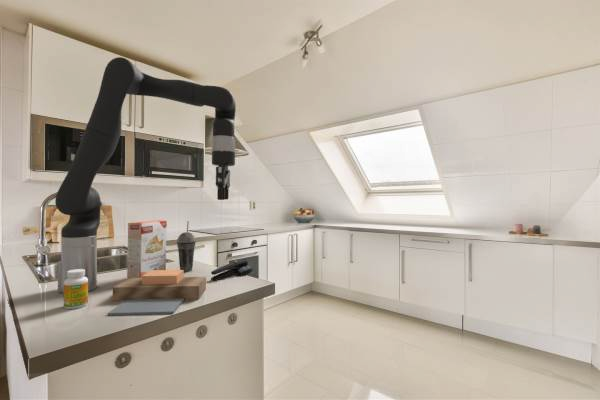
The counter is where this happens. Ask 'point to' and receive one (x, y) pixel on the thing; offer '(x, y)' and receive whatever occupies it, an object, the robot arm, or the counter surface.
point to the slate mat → (147, 306)
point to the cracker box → (146, 247)
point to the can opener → (237, 266)
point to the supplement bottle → (75, 289)
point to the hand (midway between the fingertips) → (223, 199)
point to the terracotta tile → (163, 277)
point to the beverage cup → (186, 250)
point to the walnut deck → (160, 289)
